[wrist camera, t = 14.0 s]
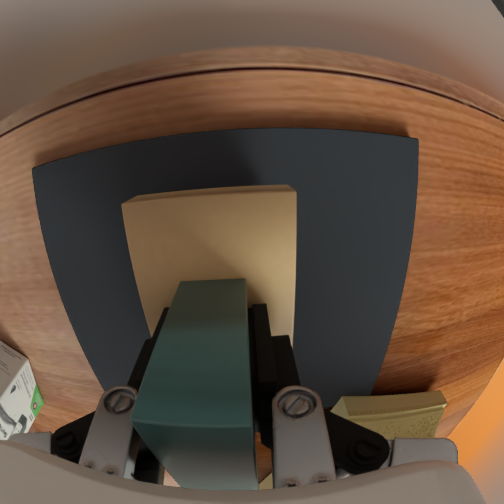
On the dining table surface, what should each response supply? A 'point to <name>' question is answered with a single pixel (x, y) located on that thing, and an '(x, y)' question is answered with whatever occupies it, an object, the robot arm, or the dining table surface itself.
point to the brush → (208, 321)
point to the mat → (307, 243)
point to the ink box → (16, 393)
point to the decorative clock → (390, 416)
